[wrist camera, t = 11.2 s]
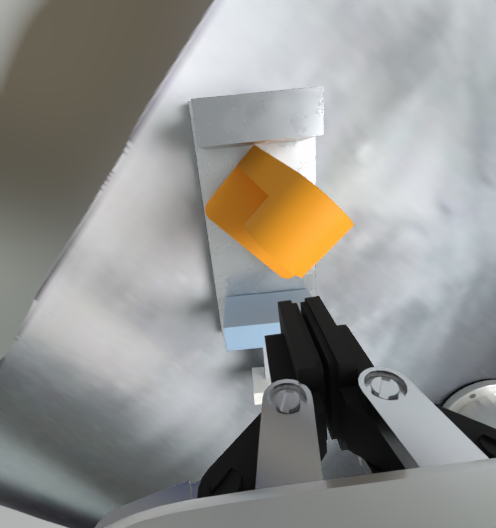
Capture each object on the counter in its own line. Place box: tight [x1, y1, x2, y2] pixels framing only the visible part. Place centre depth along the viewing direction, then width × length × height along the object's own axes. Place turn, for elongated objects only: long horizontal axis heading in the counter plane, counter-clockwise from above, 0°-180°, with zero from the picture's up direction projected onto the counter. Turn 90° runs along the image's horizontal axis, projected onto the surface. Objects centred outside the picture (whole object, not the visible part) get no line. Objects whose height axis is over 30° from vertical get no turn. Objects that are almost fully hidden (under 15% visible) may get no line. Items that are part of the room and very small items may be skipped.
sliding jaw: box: [223, 289, 312, 405], centre depth 30 cm, size 9×12×6 cm
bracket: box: [205, 145, 354, 279], centre depth 22 cm, size 11×7×12 cm, turn 49°
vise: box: [188, 86, 323, 336], centre depth 26 cm, size 11×24×7 cm, turn 5°
